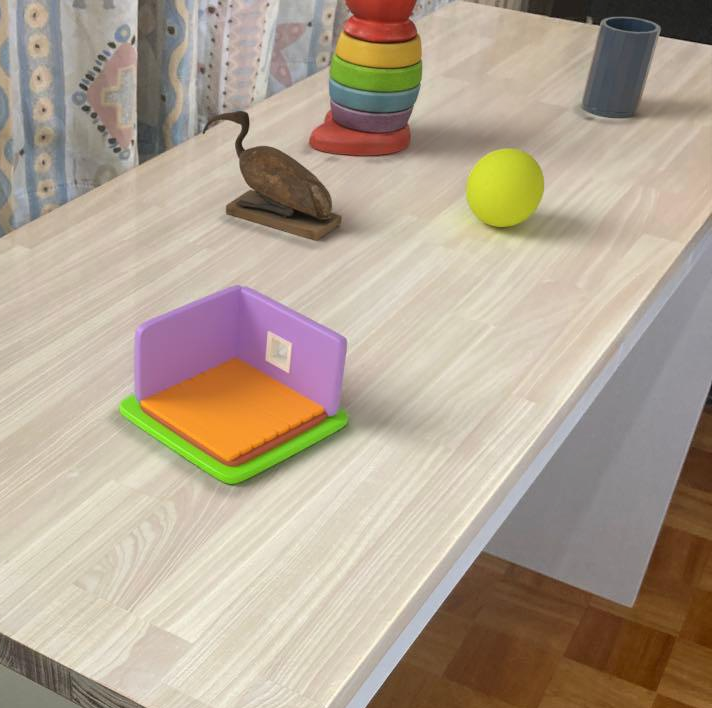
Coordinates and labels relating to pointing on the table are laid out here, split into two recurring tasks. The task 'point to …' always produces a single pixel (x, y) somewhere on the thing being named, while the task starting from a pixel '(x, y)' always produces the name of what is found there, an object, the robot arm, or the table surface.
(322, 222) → the figurine
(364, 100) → the stacking bear
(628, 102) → the cup
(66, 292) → the table surface
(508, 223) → the tennis ball
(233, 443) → the miniature room corner
